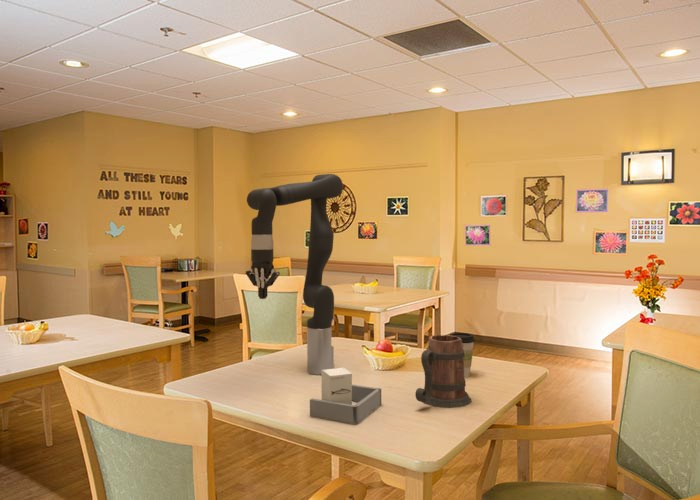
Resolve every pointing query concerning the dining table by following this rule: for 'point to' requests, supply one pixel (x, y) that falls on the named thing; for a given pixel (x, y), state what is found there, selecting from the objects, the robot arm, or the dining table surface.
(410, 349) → the dining table surface
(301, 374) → the dining table surface
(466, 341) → the coffee cup
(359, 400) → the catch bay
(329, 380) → the supplement box
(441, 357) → the tankard
